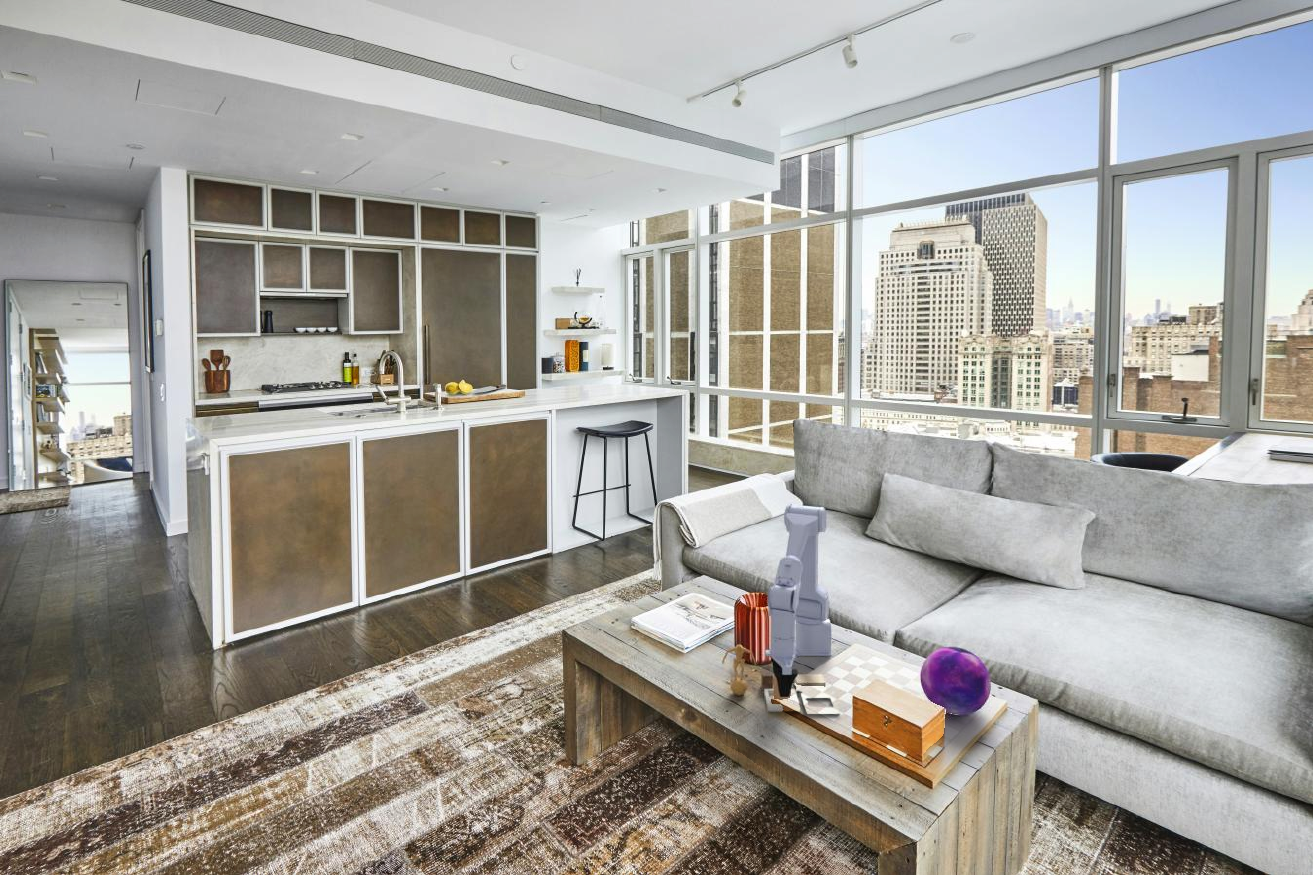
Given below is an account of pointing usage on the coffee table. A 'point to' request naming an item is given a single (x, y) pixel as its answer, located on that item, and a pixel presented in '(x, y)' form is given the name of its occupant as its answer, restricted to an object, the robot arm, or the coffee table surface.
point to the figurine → (738, 683)
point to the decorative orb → (955, 680)
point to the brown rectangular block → (767, 680)
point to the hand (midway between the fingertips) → (781, 687)
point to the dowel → (776, 691)
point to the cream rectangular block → (810, 680)
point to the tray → (770, 707)
